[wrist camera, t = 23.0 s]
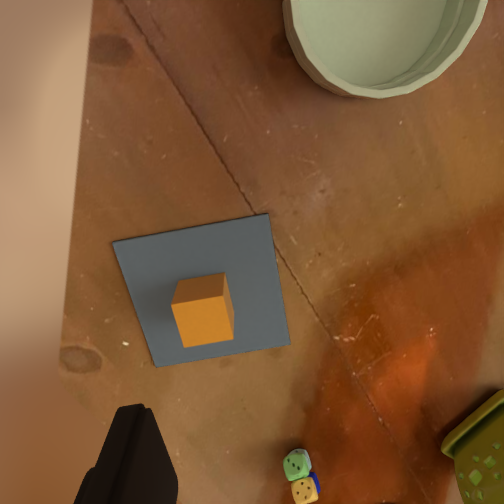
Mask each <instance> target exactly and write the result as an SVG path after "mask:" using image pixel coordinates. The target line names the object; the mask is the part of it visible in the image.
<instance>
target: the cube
mask: <svg viewBox="0 0 504 504" xmlns="http://www.w3.org/2000/svg"><path fill="white" fill-rule="evenodd" d="M171 307H172V310H173V314H174V317H175V320H176V323H177V327H178V330H179V333H180V336H181V340H182V343H183V346H184V348H186V347H191V346H197V345H203V344H209V343H215V342H220V341H226V340H232V339H234V310H233V305H232V301H231V297H230V292H229V288H228V284H227V279H226V275H225V273H219V274H213V275H208V276H202V277H196V278H191V279H185V280H180V281H178V284H177V287H176V291H175V294H174V297H173V300H172V303H171Z"/></svg>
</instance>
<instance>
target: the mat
mask: <svg viewBox="0 0 504 504" xmlns="http://www.w3.org/2000/svg"><path fill="white" fill-rule="evenodd" d="M112 245H113V248H114V250H115V253H116V256H117V259H118V262H119V264H120V267H121V270H122V273H123V276H124V279H125V281H126V284H127V287H128V290H129V293H130V296H131V298H132V301H133V304H134V307H135V310H136V313H137V315H138V318H139V321H140V324H141V327H142V330H143V332H144V335H145V338H146V341H147V344H148V347H149V349H150V352H151V355H152V358H153V361H154V364H155V366H156V368H157V367H163V366H168V365H174V364H180V363H186V362H192V361H198V360H203V359H209V358H215V357H221V356H227V355H232V354H238V353H244V352H250V351H256V350H262V349H267V348H273V347H279V346H285V345H290V339H289V333H288V327H287V321H286V315H285V309H284V303H283V298H282V292H281V286H280V280H279V274H278V268H277V262H276V256H275V250H274V245H273V239H272V233H271V227H270V221H269V215H268V213H265V214H259V215H254V216H249V217H243V218H238V219H232V220H227V221H222V222H216V223H211V224H205V225H200V226H194V227H189V228H184V229H178V230H173V231H167V232H162V233H157V234H151V235H146V236H140V237H135V238H129V239H124V240H119V241H113V242H112ZM219 273H225V275H226V279H227V284H228V288H229V292H230V297H231V301H232V305H233V310H234V339H232V340H226V341H220V342H215V343H209V344H203V345H197V346H191V347H186V348H184V346H183V343H182V340H181V336H180V333H179V330H178V327H177V323H176V320H175V317H174V314H173V310H172V307H171V303H172V300H173V297H174V294H175V291H176V287H177V284H178V281H180V280H185V279H191V278H196V277H202V276H208V275H213V274H219Z"/></svg>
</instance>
